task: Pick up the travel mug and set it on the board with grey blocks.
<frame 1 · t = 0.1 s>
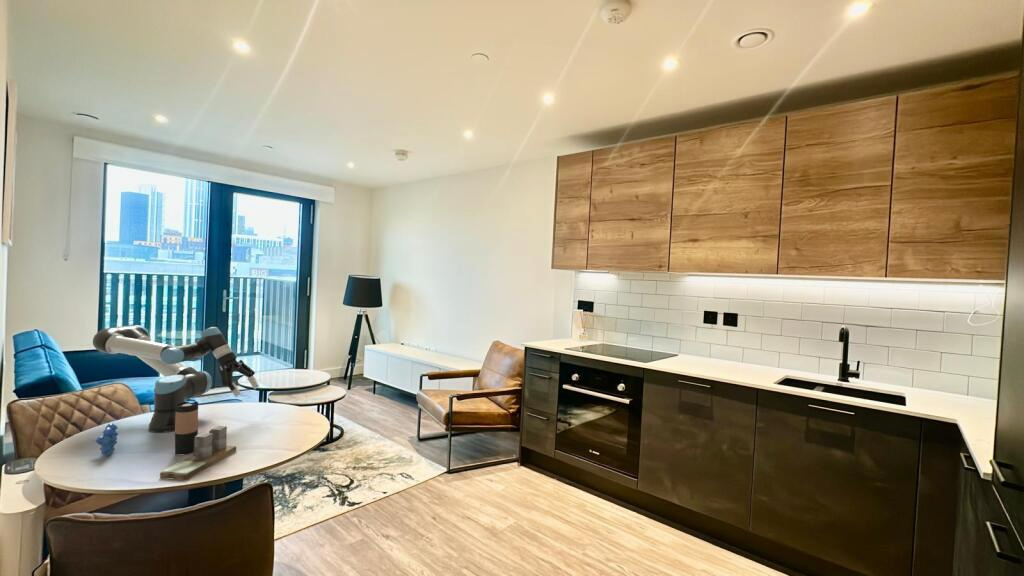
hand: (247, 391, 216), 15 cm above the table, tool tilted 35°, fingers open, 13 cm apart
travel mug: (185, 451, 180), on the table
board with grey blocks: (201, 463, 170), on the table
grapes: (106, 454, 174), on the table
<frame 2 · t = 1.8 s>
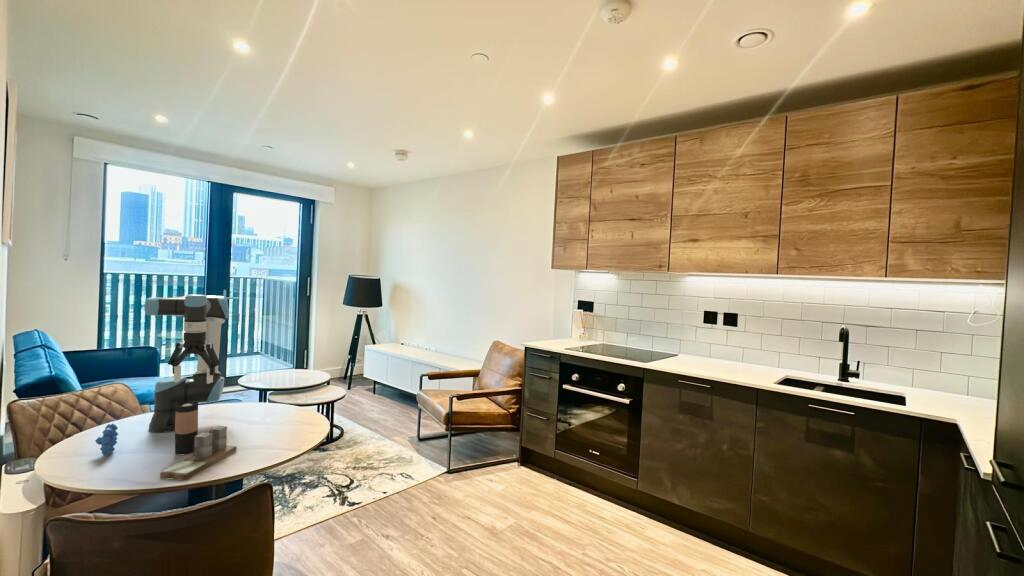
hand: (193, 382, 181), 29 cm above the table, tool pointing down, fingers open, 13 cm apart
nothing on the table moved.
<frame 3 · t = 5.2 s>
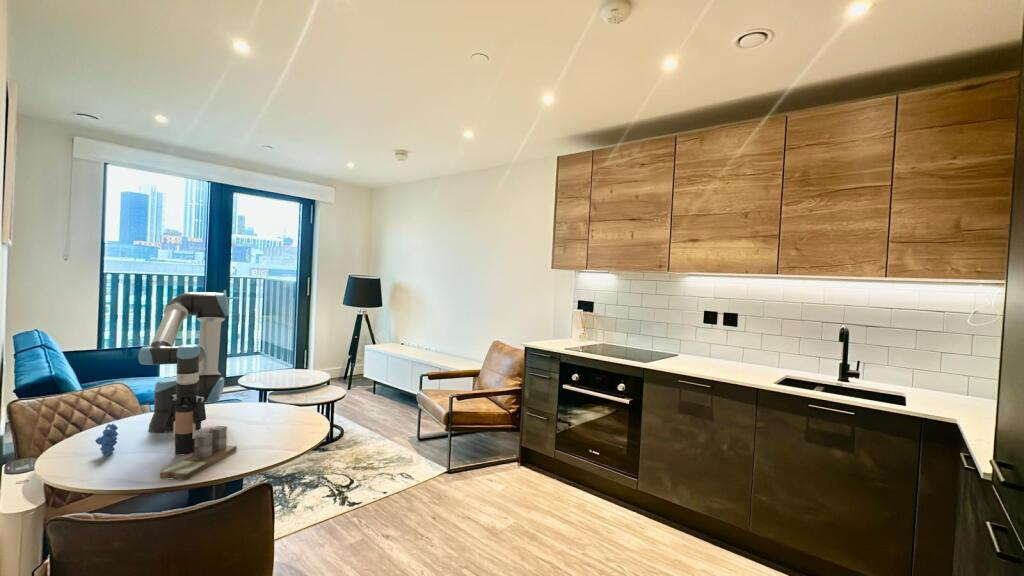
hand: (186, 436, 180), 6 cm above the table, tool pointing down, fingers closed on travel mug, 8 cm apart
travel mug: (185, 451, 180), on the table, touching gripper
everything else where it was.
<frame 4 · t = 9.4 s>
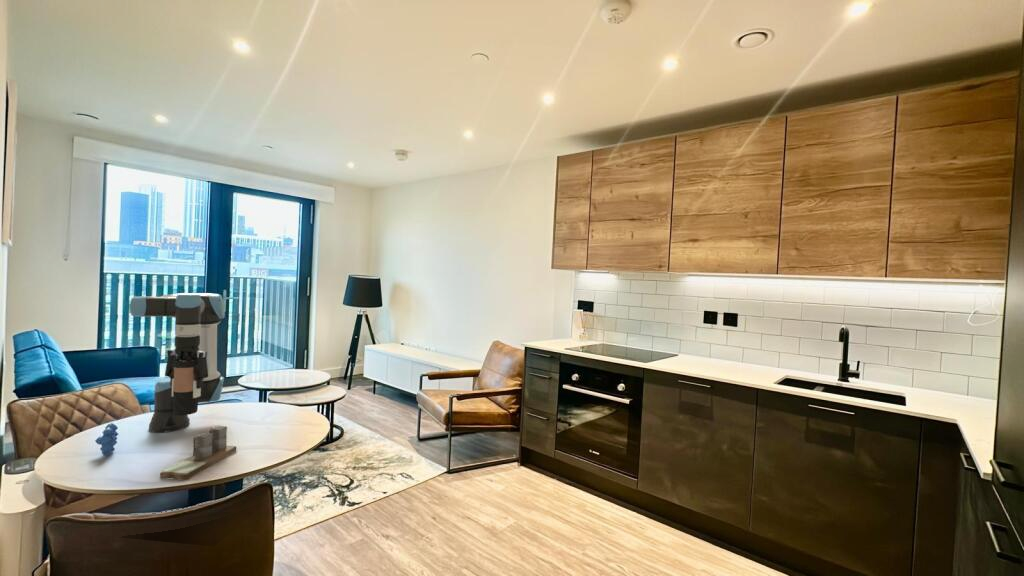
hand: (186, 396, 161), 29 cm above the table, tool pointing down, fingers closed on travel mug, 8 cm apart
travel mug: (185, 412, 162), point 23 cm above the table, touching gripper
everything else where it was.
when the fingers open (10 cm above the table, at t = 13.7 s): travel mug drops 2 cm, resting on board with grey blocks.
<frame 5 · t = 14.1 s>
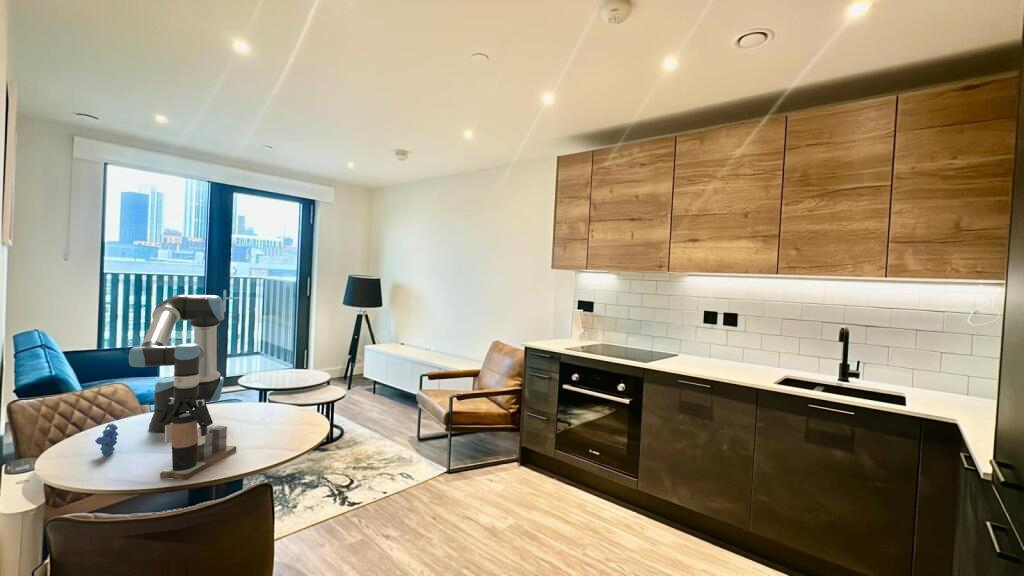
hand: (185, 442, 162), 11 cm above the table, tool pointing down, fingers open, 12 cm apart
travel mug: (184, 467, 162), point 2 cm above the table, touching board with grey blocks
everything else where it was.
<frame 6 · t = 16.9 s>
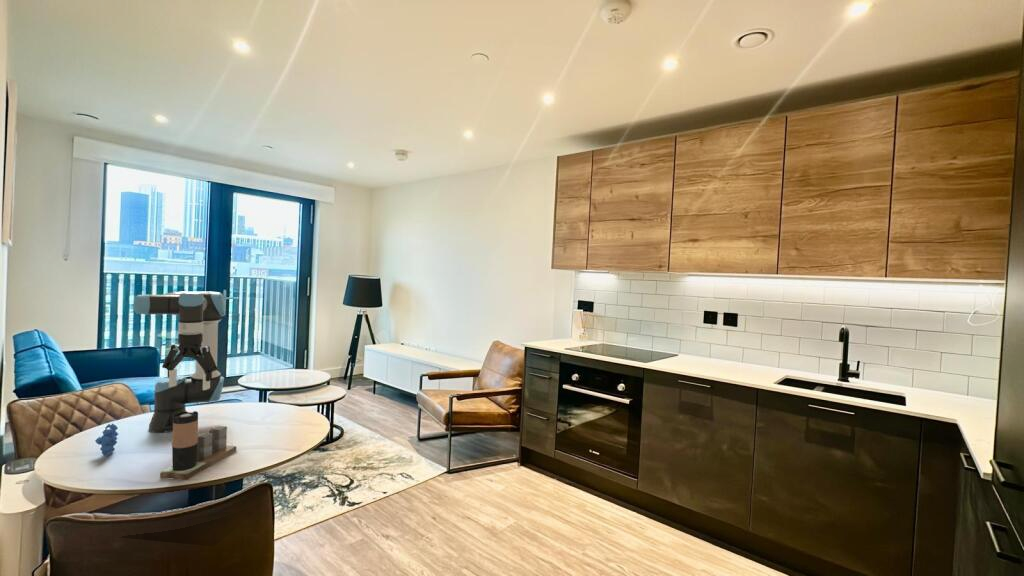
hand: (189, 387, 166), 31 cm above the table, tool pointing down, fingers open, 13 cm apart
nothing on the table moved.
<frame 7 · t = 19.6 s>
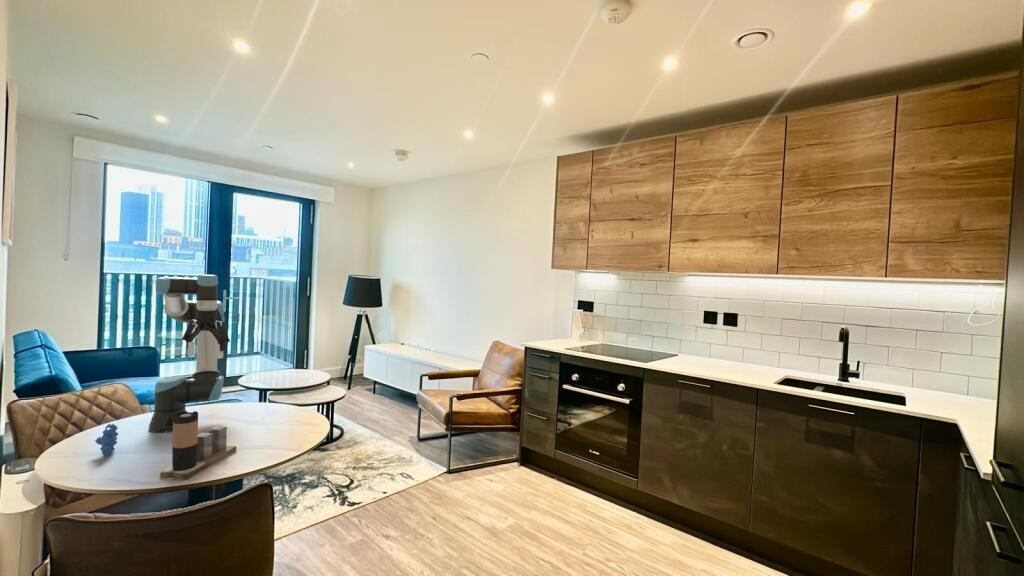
hand: (205, 357, 192), 37 cm above the table, tool pointing down, fingers open, 13 cm apart
nothing on the table moved.
at the end: travel mug 0.0 cm from the target spot on the board with grey blocks, point 2.1 cm above the board with grey blocks's base; travel mug tilted 0°; the gripper is holding nothing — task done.
